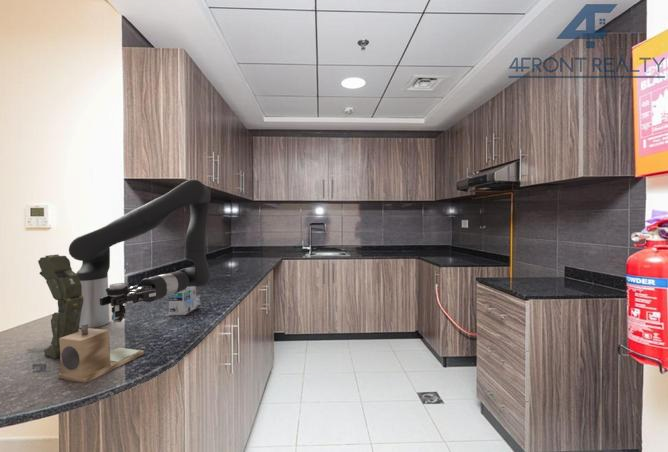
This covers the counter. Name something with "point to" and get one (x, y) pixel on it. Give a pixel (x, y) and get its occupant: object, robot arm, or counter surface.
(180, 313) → the light bulb box
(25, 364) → the counter surface
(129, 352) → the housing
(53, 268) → the mechanical leg
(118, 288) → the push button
